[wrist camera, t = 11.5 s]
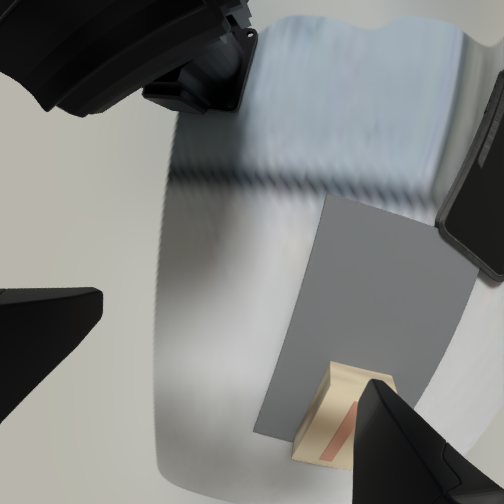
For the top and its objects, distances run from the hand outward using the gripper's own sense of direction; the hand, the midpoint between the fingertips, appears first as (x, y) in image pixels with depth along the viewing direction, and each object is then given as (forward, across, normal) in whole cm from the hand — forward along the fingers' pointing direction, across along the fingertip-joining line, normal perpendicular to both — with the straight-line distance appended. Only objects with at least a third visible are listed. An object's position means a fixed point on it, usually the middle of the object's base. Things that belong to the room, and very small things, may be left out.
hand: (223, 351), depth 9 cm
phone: (+13, -15, -11) cm, 22 cm away
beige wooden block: (+12, -8, +10) cm, 17 cm away
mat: (+12, -8, +5) cm, 15 cm away
